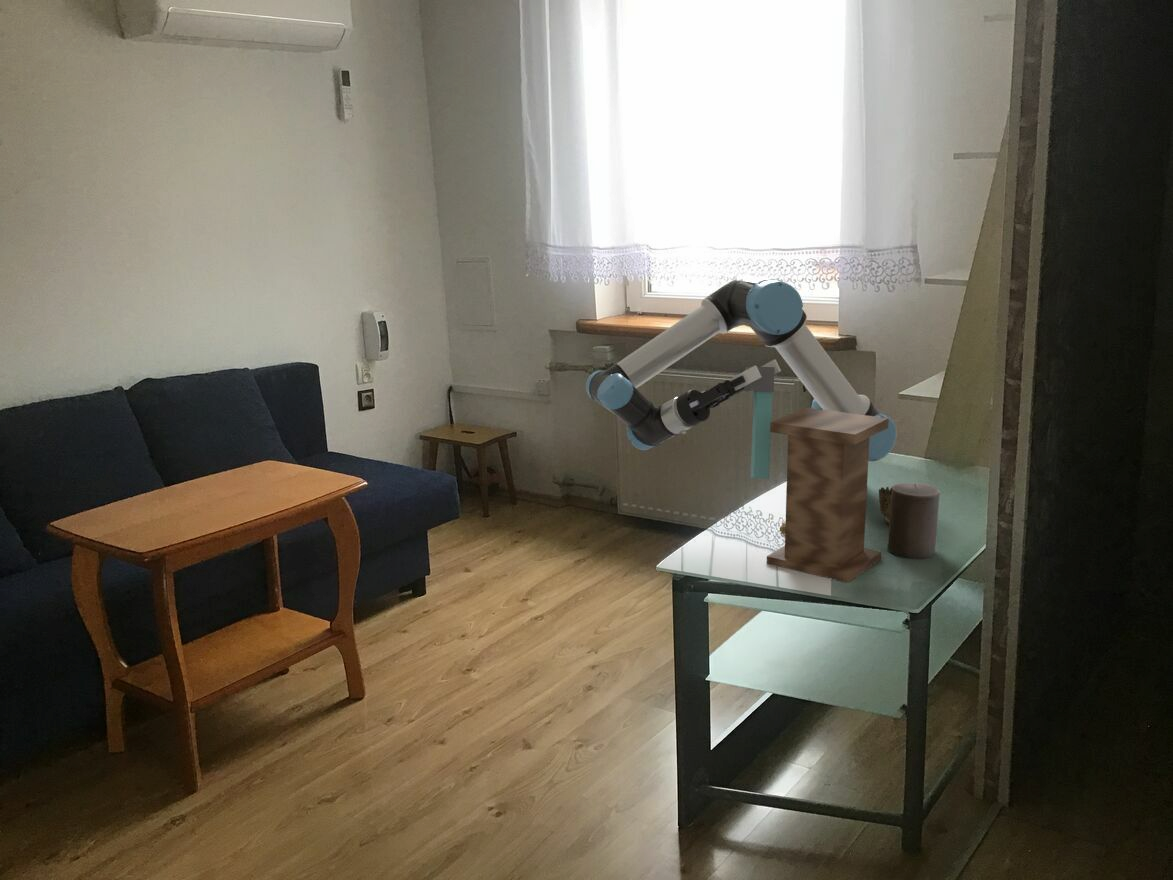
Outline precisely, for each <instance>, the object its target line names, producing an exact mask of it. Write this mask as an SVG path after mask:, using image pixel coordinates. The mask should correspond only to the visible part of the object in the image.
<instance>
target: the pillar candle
mask: <svg viewBox="0 0 1173 880" xmlns="http://www.w3.org/2000/svg"><path fill="white" fill-rule="evenodd" d="M891 487H892V494H891V507H890V519H889V525H888V533H887V551H888V550H889V551H888V552H889V553H891V554H893V555H895V556H897V557H900V556H901V557H900V558H907V559H926V558H927V557H928V558H930V556H931V557H933V556H934V555H935V553H936V541H937V540H936V539H937V531H938V528H937V527H938V518H939V507H940V505H939V502H940V494H941V490H939V489H938V488H937V487H935V486H933V485H928V484H924V483H918V482H901V483H897V484H893V485H892V486H891ZM932 555H933V556H932Z"/></svg>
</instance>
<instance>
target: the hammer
mask: <svg viewBox="0 0 1173 880" xmlns="http://www.w3.org/2000/svg"><path fill="white" fill-rule="evenodd" d="M751 367H753V366H751V365H750V366H745V370H744V371H746V370H748V369H749V368H751ZM757 368H758V370H759V372H760V374H761V378H760V379H758V380H756V381H754V382H752V383H750V384H748V385H746V386H745V390H744V391H743V392H753V400H752V401H753V402H752V403H753V408H752V425H751V426H752V430H751V455H750V456H751V459H750V479H763V480H766V479H770V467H771V466H770V465H771V464H770V463H771V441H772V440H771V437H772V435H771V434H772V432H770V422H772V416H773V415H772V413H773V395H774V394H773V392H775V389H774V388H775V374H774V370H775V367H761V366H757Z"/></svg>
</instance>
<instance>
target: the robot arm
mask: <svg viewBox="0 0 1173 880" xmlns="http://www.w3.org/2000/svg"><path fill="white" fill-rule="evenodd" d="M803 307H804V304H803V299H802V297H801V295H800V293H799V292H798V290H796V288H795V287H793V286H792V285H791V284H789V283H787V282H785V281H784V280H780V279H777V278H767V277H760V276H758V275H757V276H756V275H744V276H743V275H742V276H740V277H737V278H735V279H734V280H733V279H732V280H731V281H730V282H728V283H726V284H724V285H722V286H721V287H719V288H718V289H717V290H715V291H714V292H712V293H711V294H709V295H708V296H706V297H705V298H704V299H702V300H701V305H700V306H699V307H698V308H696V309H694V310H693V311H692V312H691V313H689V314H687V315H686V316H684V317H683V318H681V319H680V320H678V321H677V322H676V323H674V324H673V325H671V326H670V327H668V328H667V329H665V330H664V331H663V332H661V333H660V334H658V335H656V336H655V337H654V338H652V339H651V340H649V341H648V342H646V343H645V344H643V345H642V346H640V347H638V349H636V350H635V351H632V352H631V353H630V354H628V355H627V356H626V357H624V358H623V359H622V360H620V361H618V362H617V363H615V364H614V365H612V366H611V367H609V368H607V369H606V370H596V371H594V372H592V373H591V374H589V376H588V378H587V380H586V382H585V391H586V393H587V396H588V397H589V398H590V399H591V400H592V401H593V402H594V403H596V404H598V405H600V406H602V407H603V408H605V409H606V410H608V411H609V412H610V413H612V414H614V415H615V416H616V417H617V418H618V419H619V420H621V421H622V422H623V424H626V425H627V427H626V434H627V438H628V440H630V441H631V442H630V443H631V445H632V446H633V447H634V448H636V449H638V450H641V451H646V450H650V449H653V448H654V447H658V446H660V445H662V444H663V443H664V442H665V441H668V440H670V439H672V438H674V437H675V436H678V435H679V434H682V435H686V434H687V431H688V430H690V429H691V428H693V427H697V426H698V425H700V424H702V423H704V422H706V421H707V420H708V419H709V417H710V415H711V409H714V408H716V407H719V405H721V404H722V403H724V402H726V401H728V400H730V398H732V397H734V396H735V395H737V394H740V393H742V392H745V391H744V390H745V386H746V385H748V384H750V383H752V382H754V381H756V380H758V379H760V378H761V374H760V372H759V370H758V368H757V367H758V366H757V365H754V366H753V367H751V368H749V369H748V370H746V371H745V370H743V372H740V373H738V374H737V375H734V376H733V377H731V378H729V379H726V380H725V381H723V382H719V383H718V384H716V385H714V386H712V387H711V388H708V389H706V390H704V391H700V390H697V389H689V390H687V391H685V392H683V393H682V394H680V395H678V396H675V397H674V398H672V399H670V400H668V401H667V402H665V403H663V404H661V405H660V406H656V405H655V404H654V403H653V402H652V401H651V400H649V398H647V397H646V396H645V395H644V394H643V393H642V392H641V391H640V390H639V389H638V388H640V386H642V385H643V384H645V383H646V382H648V381H649V380H651V379H652V378H654V377H655V376H657V375H659V374H660V373H661V372H663V371H664V370H666V369H667V368H668V367H670V366H672V365H673V364H675V363H676V362H677V361H679V360H681V359H682V358H684V357H685V356H686V355H688V354H690V353H691V352H692V351H694V350H696V349H697V348H698V347H700V346H701V345H703V344H704V343H706V342H707V341H708V340H710V339H711V338H713V337H715V336H716V335H718V334H726V333H728V332H729V331H731V330H733V329H735V328H738V327H741V326H742V327H743V326H745V327H748V328H750V329H752V331H753V332H754V333H755V335H756V336H757V337H758V338H759V340H760V341H761V343H763V345H764V346H765V347H768V348H775V349H776V351H777V352H778V353H779V355H780V356H781V357H782V358H783V360H784V361H785V363H786V364H787V365H788V366H789V368H790V369H791V370H792V371H793V373H794V374H795V375H796V377H797V378H798V379H799V381H800V382H801V383H802V384H803V385H804V387H805V388H806V390H807V391H808V392H809V394H810V395H811V396H812V398H813V400H812V403H811V407H810V408H814V409H821V410H829V411H837V412H844V413H852V414H859V415H867V416H875V417H882V418H889V423H888V428H887V429H885V430H883V431H881V432H879V433H877V434H875V435H873V436H871V437H870V438H869V458H868V462H878V461H879V460H883V459H884V458H886V456H888V455H889V454H890V453H891V452H892V450H893V448H894V446H895V444H896V442H897V441H896V439H897V437H898V430H897V429H898V428H897V425H896V424H895V422H894V421H893V419H892V418H890V417H889V416H888V415H886V414H883V413H881V412H880V411H879V410H878V409H877V407H876V406H875V405H874V404H873V402H872V401H871V400H870V399H869V397H868V396H867V395H865V394H858V393H857V392H856V390H855V389H854V388H853V386H852V384H851V383H849V381H848V379H846V377H845V375H844V374H843V373H842V371H841V370H840V369H839V368H838V366H837V365H836V363H835V362H834V361H833V360H832V358H831V356H829V354H828V353H827V352H826V350H825V349H824V347H823V346H822V345H821V344H820V342H819V340H817V338H816V337H815V336H814V334H813V333H812V332H811V330H810V329H809V327H808V326H807V325H806V323H807V319H808V315H807V314H806V312H805V310H804V309H803ZM760 367H775V370H774V375H776V374H778V373H781V372H782V370H781V368H780V366H779V364H778V361H777V359H773V360H771V361H769V362H767V363H764V365H761V366H760Z"/></svg>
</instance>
